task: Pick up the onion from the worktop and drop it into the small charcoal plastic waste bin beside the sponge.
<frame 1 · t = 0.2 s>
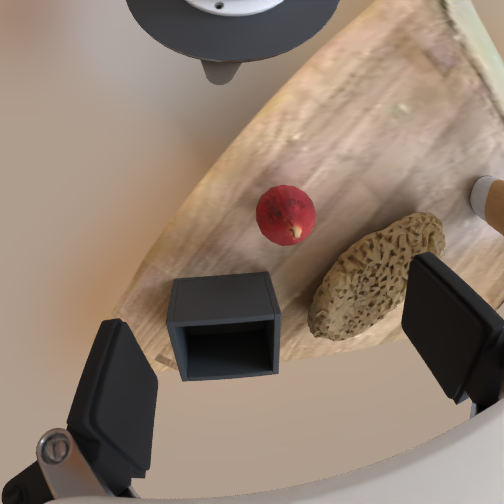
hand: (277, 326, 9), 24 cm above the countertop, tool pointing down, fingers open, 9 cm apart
waste bin: (223, 306, 39), on the countertop
onion: (278, 202, 33), on the countertop
coffee cup: (481, 194, 36), on the countertop
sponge: (365, 266, 39), on the countertop
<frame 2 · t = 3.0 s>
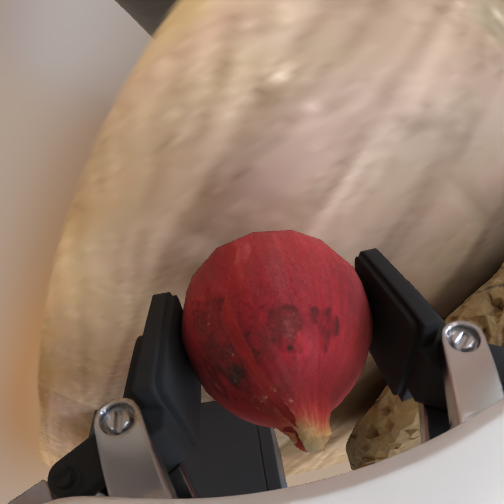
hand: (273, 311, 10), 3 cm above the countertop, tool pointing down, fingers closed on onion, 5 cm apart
waste bin: (195, 439, 19), on the countertop
onion: (259, 264, 13), on the countertop, touching gripper
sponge: (448, 340, 17), on the countertop
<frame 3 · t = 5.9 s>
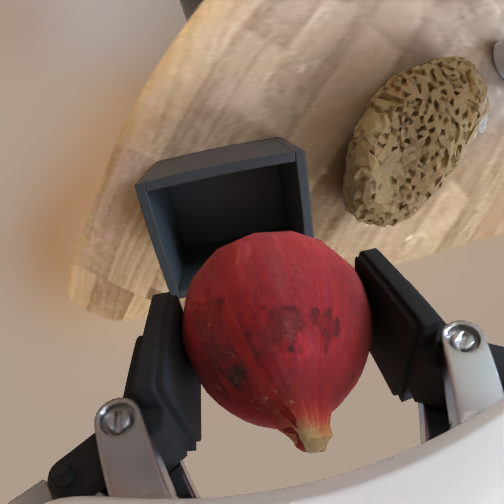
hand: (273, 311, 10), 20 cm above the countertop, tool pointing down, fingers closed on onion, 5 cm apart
waste bin: (227, 196, 28), on the countertop
onion: (260, 264, 13), point 17 cm above the countertop, touching gripper
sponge: (401, 132, 27), on the countertop
when the fingers open (9 cm above the countertop, at t = 8.6 s): onion drops 5 cm, resting on waste bin.
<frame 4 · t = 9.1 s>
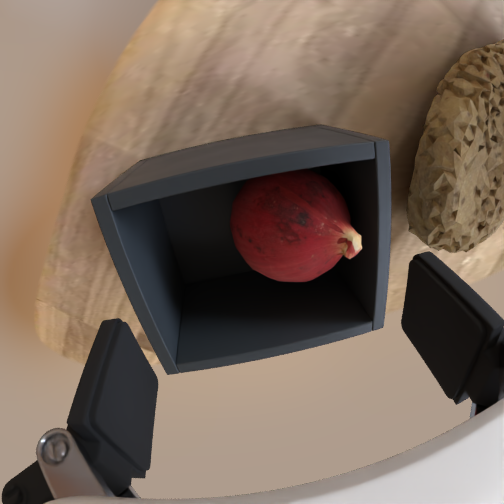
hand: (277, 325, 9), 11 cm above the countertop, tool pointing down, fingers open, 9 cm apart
waste bin: (244, 210, 19), on the countertop
onion: (247, 212, 18), point 1 cm above the countertop, touching waste bin
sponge: (467, 127, 18), on the countertop
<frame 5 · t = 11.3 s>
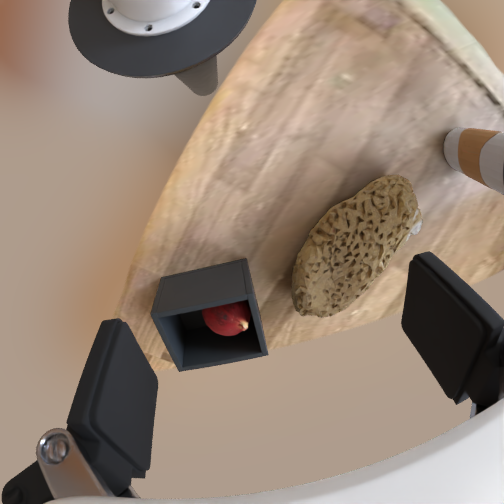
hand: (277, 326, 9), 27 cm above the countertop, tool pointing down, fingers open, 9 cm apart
waste bin: (212, 297, 41), on the countertop
onion: (212, 300, 40), point 1 cm above the countertop, touching waste bin
coffee cup: (456, 148, 35), on the countertop
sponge: (344, 240, 39), on the countertop
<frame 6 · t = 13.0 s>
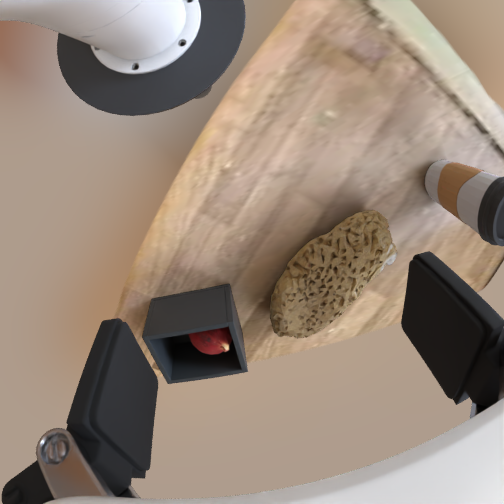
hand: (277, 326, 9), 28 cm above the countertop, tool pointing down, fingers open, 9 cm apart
waste bin: (198, 317, 44), on the countertop
onion: (198, 320, 43), point 1 cm above the countertop, touching waste bin
coffee cup: (438, 179, 38), on the countertop
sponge: (321, 267, 43), on the countertop
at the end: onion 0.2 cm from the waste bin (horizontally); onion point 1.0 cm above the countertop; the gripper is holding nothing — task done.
